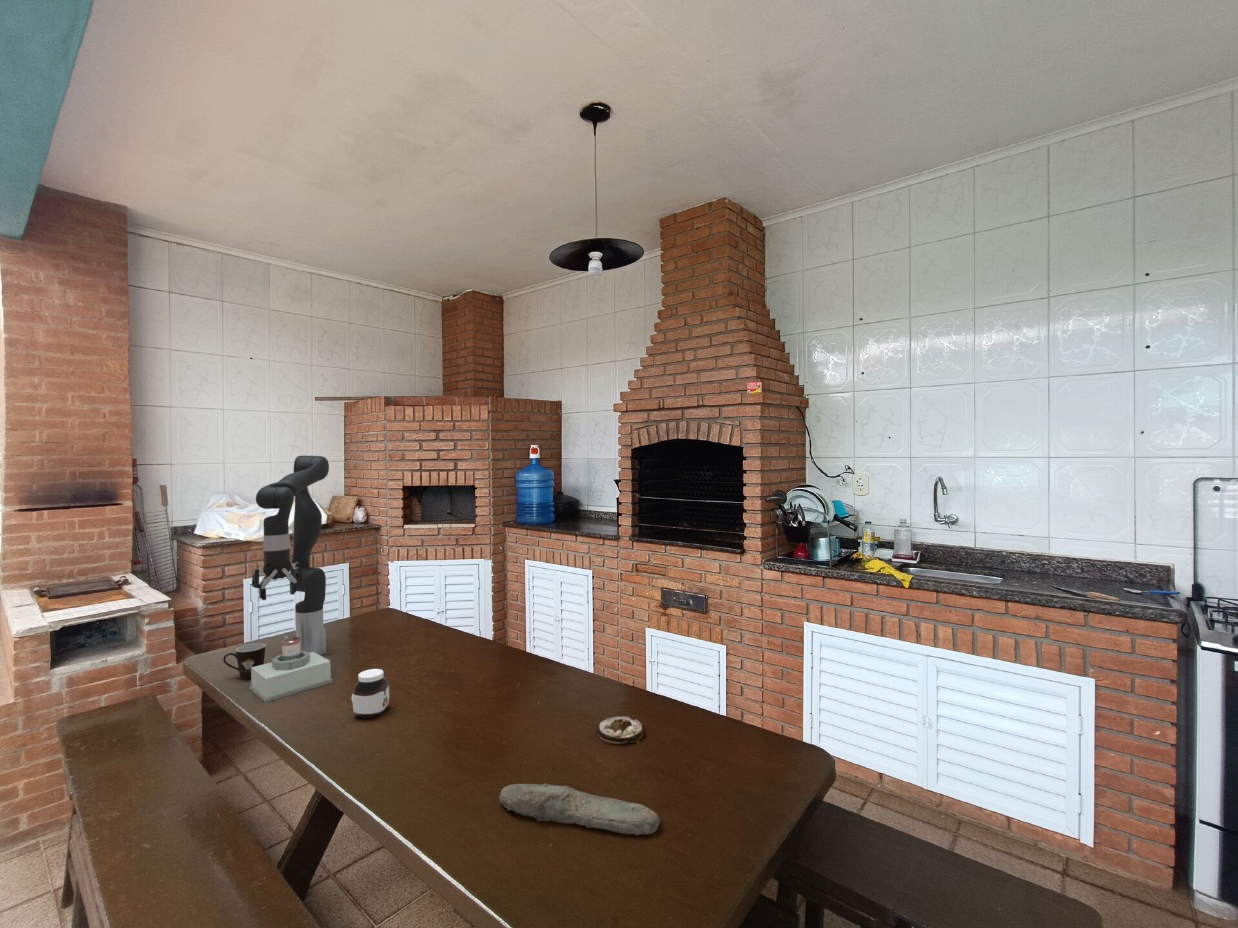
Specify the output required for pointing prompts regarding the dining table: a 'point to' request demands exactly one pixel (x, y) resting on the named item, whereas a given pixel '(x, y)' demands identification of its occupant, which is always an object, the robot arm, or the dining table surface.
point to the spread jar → (370, 694)
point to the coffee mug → (248, 659)
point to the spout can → (290, 648)
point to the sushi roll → (620, 730)
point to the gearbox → (290, 676)
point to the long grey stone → (578, 808)
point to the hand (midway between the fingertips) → (278, 596)
